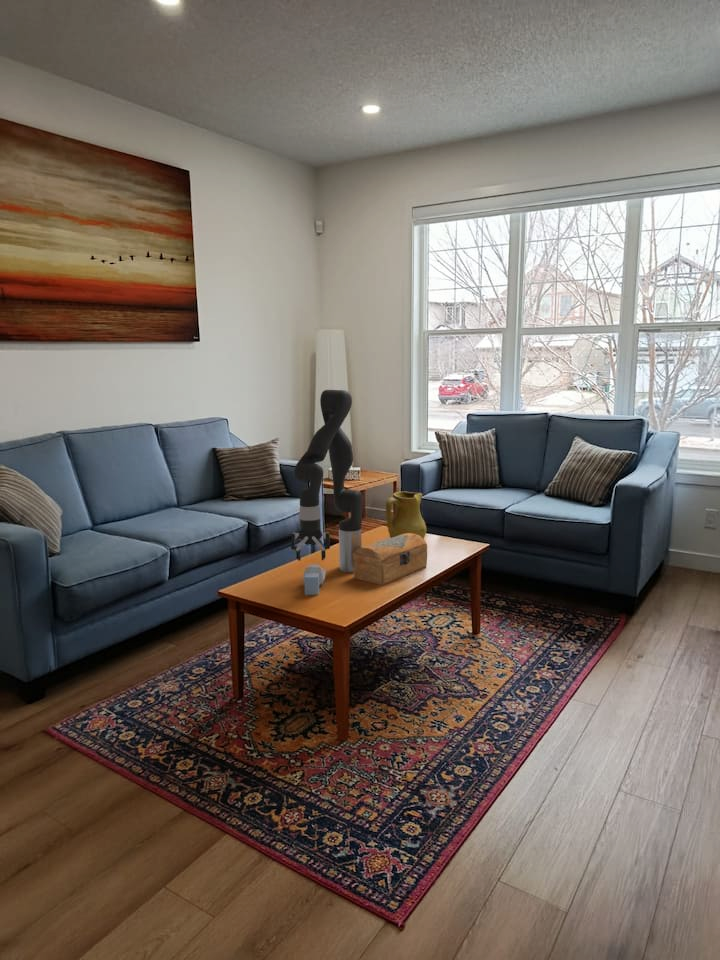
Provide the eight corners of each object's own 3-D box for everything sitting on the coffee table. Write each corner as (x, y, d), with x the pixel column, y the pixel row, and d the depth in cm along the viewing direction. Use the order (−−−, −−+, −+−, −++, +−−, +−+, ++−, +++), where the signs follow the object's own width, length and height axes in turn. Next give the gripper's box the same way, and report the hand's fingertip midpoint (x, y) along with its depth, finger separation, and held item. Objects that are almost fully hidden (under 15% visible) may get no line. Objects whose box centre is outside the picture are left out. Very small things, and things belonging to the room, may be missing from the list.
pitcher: (427, 551, 301) (427, 497, 297) (385, 551, 302) (385, 497, 297) (425, 541, 318) (425, 489, 313) (385, 541, 319) (385, 489, 314)
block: (306, 590, 253) (305, 573, 251) (319, 590, 252) (318, 572, 251) (304, 595, 248) (304, 577, 246) (318, 595, 248) (318, 577, 246)
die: (322, 590, 252) (327, 585, 262) (323, 566, 252) (327, 562, 262) (300, 589, 253) (305, 584, 263) (300, 565, 253) (306, 561, 263)
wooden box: (384, 587, 256) (384, 552, 254) (352, 578, 267) (351, 544, 264) (430, 568, 278) (430, 536, 276) (399, 561, 289) (399, 529, 286)
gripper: (329, 514, 248) (330, 556, 251) (291, 514, 249) (292, 557, 252) (329, 519, 241) (329, 562, 244) (289, 519, 241) (290, 563, 244)
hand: (311, 560), depth 248 cm, fingers open, 8 cm apart
